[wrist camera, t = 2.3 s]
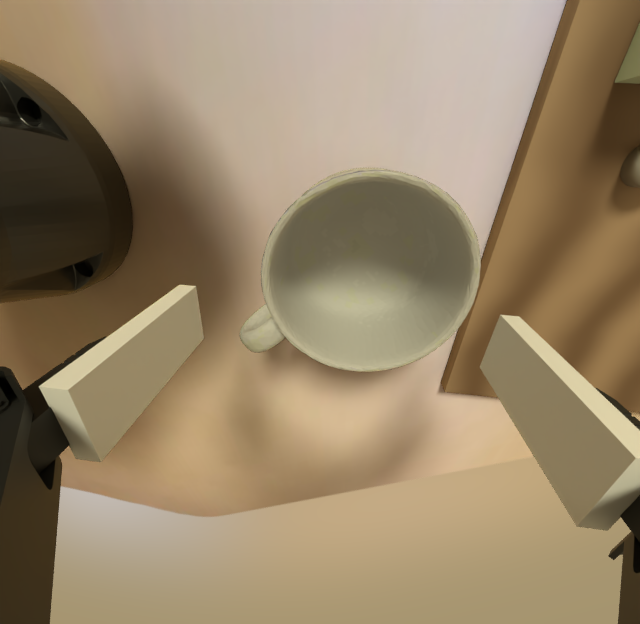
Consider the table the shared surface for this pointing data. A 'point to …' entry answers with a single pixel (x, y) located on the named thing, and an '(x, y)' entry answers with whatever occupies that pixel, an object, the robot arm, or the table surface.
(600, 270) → the board
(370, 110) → the table surface
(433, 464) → the table surface
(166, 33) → the table surface
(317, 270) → the teacup
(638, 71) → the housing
